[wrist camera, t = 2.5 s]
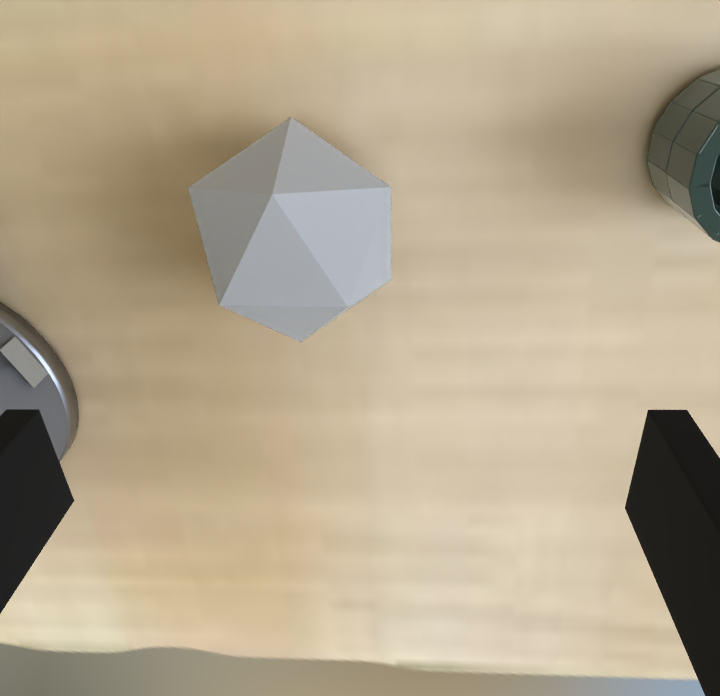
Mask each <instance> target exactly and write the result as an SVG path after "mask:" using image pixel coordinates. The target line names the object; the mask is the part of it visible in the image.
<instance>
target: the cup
mask: <svg viewBox="0 0 720 696" xmlns="http://www.w3.org/2000/svg"><path fill="white" fill-rule="evenodd" d="M647 162H648V166H649V171H650V175H651V180H652V184H653V185H654V187H655V188H656V190H657V191H658V192H659V193H660V194H661V196H662V197H663V198H664V199H665V200H666V201H667V203H668V204H670V205H671V206H672V207H673V208H675V209H676V210H677V211H678V212H679V213H681V214H682V215H683V216H684V217H686V218H687V219H688V220H689V221H691V222H692V223H693V224H694V225H695V226H697V227H698V228H699V229H700V230H702V231H703V232H704V233H705V234H706V235H708V236H709V237H710V238H712V239H713V240H715V241H717V242H720V69H718V70H716V71H713V72H711V73H709V74H706V75H704V76H701V77H699V78H697V80H695V81H694V82H693V83H691V84H690V85H689V86H688V87H687V88H686V89H684V90H683V91H682V92H681V93H680V94H679V95H678V96H676V97H675V98H674V99H673V100H672V101H671V102H670V103H669V104H668V106H667V108H666V109H665V111H664V113H663V114H662V116H661V118H660V119H659V121H658V123H657V124H656V126H655V128H654V131H653V133H652V138H651V143H650V148H649V153H648V159H647Z"/></svg>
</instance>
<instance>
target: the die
mask: <svg viewBox="0 0 720 696" xmlns="http://www.w3.org/2000/svg"><path fill="white" fill-rule="evenodd" d="M188 190H189V194H190V198H191V201H192V205H193V209H194V213H195V216H196V220H197V224H198V228H199V231H200V235H201V239H202V243H203V246H204V250H205V254H206V258H207V261H208V265H209V269H210V272H211V276H212V280H213V284H214V287H215V291H216V295H217V299H218V302H219V305H220V306H222V307H224V308H226V309H228V310H231V311H233V312H235V313H237V314H240V315H242V316H244V317H246V318H248V319H251V320H253V321H255V322H257V323H259V324H262V325H264V326H266V327H268V328H271V329H273V330H275V331H277V332H279V333H282V334H284V335H286V336H288V337H291V338H293V339H295V340H297V341H299V342H302V341H303V340H305V339H306V338H308V337H309V336H310V335H312V334H313V333H315V332H316V331H318V330H319V329H321V328H322V327H323V326H325V325H326V324H328V323H329V322H331V321H332V320H334V319H335V318H336V317H338V316H339V315H341V314H342V313H344V312H345V311H347V310H348V309H350V308H351V307H352V306H354V305H355V304H357V303H358V302H360V301H361V300H363V299H364V298H365V297H367V296H368V295H370V294H371V293H373V292H374V291H376V290H377V289H378V288H380V287H381V286H383V285H384V284H386V283H387V282H389V281H390V280H391V279H392V247H391V187H390V186H389V185H387V184H386V183H384V182H383V181H382V180H380V179H379V178H377V177H376V176H374V175H373V174H372V173H370V172H369V171H367V170H366V169H365V168H363V167H362V166H360V165H359V164H357V163H356V162H355V161H353V160H352V159H350V158H349V157H347V156H346V155H345V154H343V153H342V152H340V151H339V150H337V149H336V148H335V147H333V146H332V145H330V144H329V143H328V142H326V141H325V140H323V139H322V138H320V137H319V136H318V135H316V134H315V133H313V132H312V131H310V130H309V129H308V128H306V127H305V126H303V125H302V124H301V123H299V122H298V121H296V120H295V119H293V118H292V117H290V118H289V119H287V120H286V121H284V122H283V123H282V124H280V125H279V126H277V127H276V128H274V129H273V130H271V131H270V132H268V133H267V134H265V135H264V136H263V137H261V138H260V139H258V140H257V141H255V142H254V143H252V144H251V145H249V146H248V147H246V148H245V149H244V150H242V151H241V152H239V153H238V154H236V155H235V156H233V157H232V158H230V159H229V160H228V161H226V162H225V163H223V164H222V165H220V166H219V167H217V168H216V169H214V170H213V171H211V172H210V173H209V174H207V175H206V176H204V177H203V178H201V179H200V180H198V181H197V182H195V183H194V184H192V185H191V186H190V187H188Z"/></svg>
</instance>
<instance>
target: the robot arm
mask: <svg viewBox="0 0 720 696" xmlns="http://www.w3.org/2000/svg"><path fill="white" fill-rule="evenodd" d="M77 427H78V405H77V398H76V395H75V391H74V388H73V385H72V382H71V380H70V377H69V375H68V373H67V371H66V369H65V367H64V366H63V364H62V362H61V361H60V359H59V358H58V356H57V355H56V353H55V352H54V351H53V349H52V348H51V347H50V345H49V344H48V343H47V342H46V341H45V340H44V338H43V337H42V336H41V335H40V334H39V333H38V332H37V331H36V330H35V329H34V328H33V327H32V326H31V325H29V324H28V323H27V322H26V321H25V320H24V319H23V318H21V317H20V316H19V315H17V314H16V313H15V312H13V311H12V310H11V309H9V308H8V307H6V306H5V305H3V304H2V303H0V613H1V612H2V610H3V609H4V607H5V606H6V604H7V602H8V601H9V599H10V598H11V596H12V595H13V593H14V592H15V590H16V589H17V587H18V586H19V584H20V583H21V581H22V580H23V578H24V576H25V575H26V573H27V572H28V570H29V569H30V567H31V566H32V564H33V563H34V561H35V560H36V558H37V557H38V555H39V554H40V552H41V550H42V549H43V547H44V546H45V544H46V543H47V541H48V540H49V538H50V537H51V535H52V534H53V532H54V531H55V529H56V528H57V526H58V524H59V523H60V521H61V520H62V518H63V517H64V515H65V514H66V512H67V511H68V509H69V508H70V506H71V505H72V503H73V502H74V499H73V497H72V494H71V491H70V489H69V486H68V484H67V481H66V478H65V476H64V473H63V470H62V468H61V465H60V463H59V462H60V460H61V459H62V458H63V456H64V455H65V454H66V452H67V451H68V450H69V448H70V446H71V444H72V443H73V440H74V438H75V435H76V431H77ZM625 509H626V511H627V514H628V516H629V519H630V521H631V523H632V526H633V528H634V530H635V533H636V535H637V537H638V540H639V542H640V544H641V547H642V549H643V551H644V554H645V556H646V558H647V561H648V563H649V565H650V568H651V570H652V572H653V575H654V577H655V579H656V582H657V584H658V586H659V589H660V591H661V593H662V596H663V598H664V600H665V603H666V605H667V607H668V610H669V612H670V614H671V617H672V619H673V621H674V624H675V626H676V628H677V631H678V633H679V635H680V638H681V640H682V642H683V645H684V647H685V649H686V652H687V654H688V656H689V659H690V661H691V663H692V666H693V668H694V670H695V673H696V675H697V677H698V680H699V682H700V684H701V687H702V689H703V691H704V693H705V696H720V458H719V457H718V455H717V454H716V452H715V451H714V449H713V448H712V446H711V445H710V443H709V442H708V440H707V439H706V438H705V436H704V435H703V433H702V432H701V430H700V429H699V427H698V426H697V424H696V423H695V421H694V420H693V418H692V417H691V415H690V414H689V412H688V411H687V410H648V413H647V417H646V421H645V425H644V430H643V434H642V438H641V442H640V447H639V451H638V455H637V459H636V464H635V468H634V472H633V476H632V480H631V485H630V489H629V493H628V497H627V502H626V506H625Z"/></svg>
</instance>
